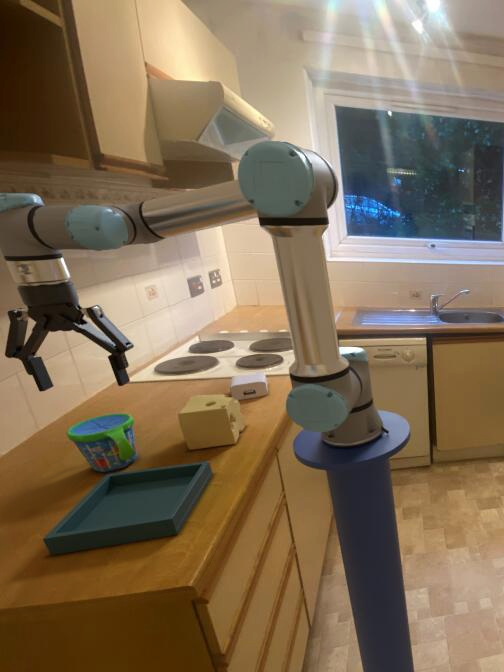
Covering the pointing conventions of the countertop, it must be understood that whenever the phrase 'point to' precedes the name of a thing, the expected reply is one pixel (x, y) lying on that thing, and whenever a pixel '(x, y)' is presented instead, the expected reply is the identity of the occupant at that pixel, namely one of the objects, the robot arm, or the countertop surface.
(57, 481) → the countertop surface
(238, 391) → the charger
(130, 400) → the countertop surface
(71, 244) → the robot arm
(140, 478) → the tray
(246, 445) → the countertop surface
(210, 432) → the cheese
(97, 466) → the snack cup
